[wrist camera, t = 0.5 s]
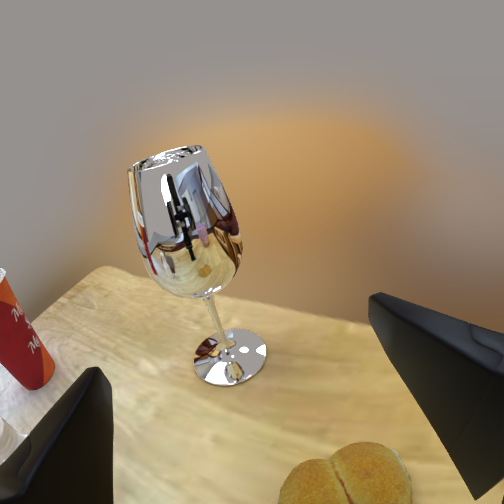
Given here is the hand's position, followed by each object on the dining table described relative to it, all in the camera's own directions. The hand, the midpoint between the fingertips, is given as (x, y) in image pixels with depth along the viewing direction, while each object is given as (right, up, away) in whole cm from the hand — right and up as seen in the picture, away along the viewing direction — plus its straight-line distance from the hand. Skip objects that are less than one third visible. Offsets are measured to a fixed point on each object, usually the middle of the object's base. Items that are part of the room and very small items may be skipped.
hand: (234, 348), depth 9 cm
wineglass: (-2, -8, +21) cm, 22 cm away
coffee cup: (-27, -13, +22) cm, 37 cm away
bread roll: (+7, -14, +6) cm, 17 cm away
